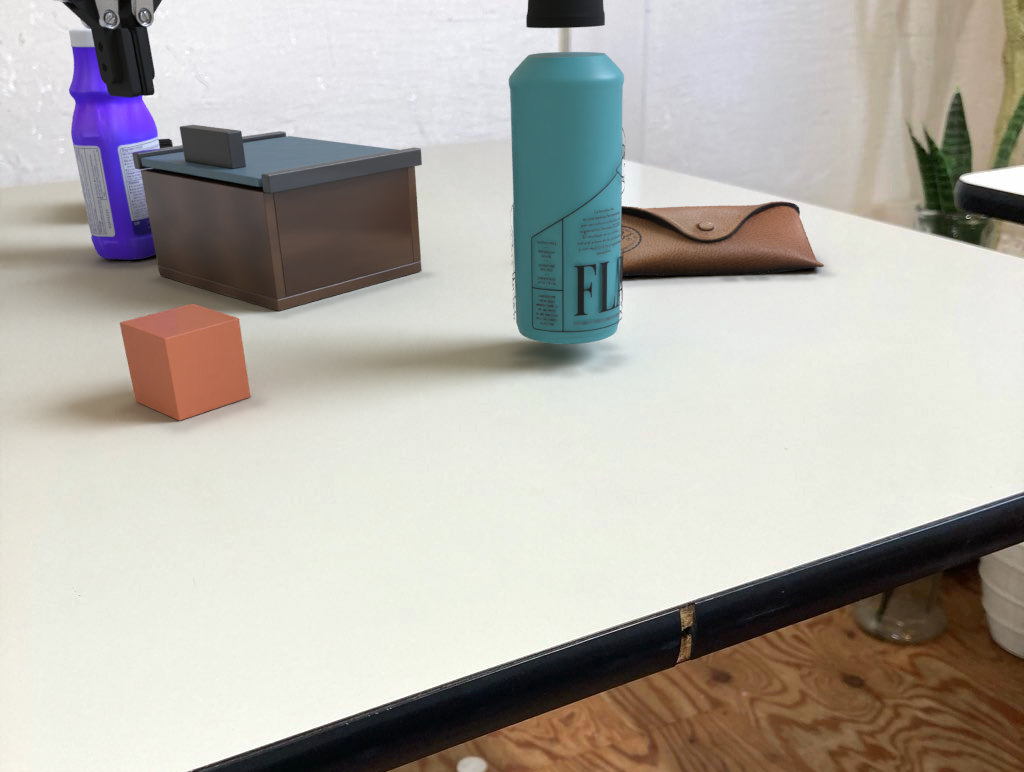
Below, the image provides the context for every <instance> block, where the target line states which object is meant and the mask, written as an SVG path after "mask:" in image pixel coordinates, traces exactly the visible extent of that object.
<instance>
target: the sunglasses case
mask: <svg viewBox="0 0 1024 772" xmlns="http://www.w3.org/2000/svg"><path fill="white" fill-rule="evenodd" d="M800 214H801V211H800V206H798V204H796V203H793V202H789V201H781V200H779V201H770V202H769V201H768V202H765V203H760V204H751V205H750V204H749V205H747V204H746V205H699V206H698V205H696V206H695V205H694V206H693V205H692V206H689V205H686V206H667V207H666V206H665V207H664V206H663V207H647V208H643V207H638V206H626V205H621V224H622V225H623V228H622V227H621V230H622V234H621V255H623V269H622V277H629V276H661V277H663V276H706V275H707V276H708V275H709V276H711V275H712V276H714V275H715V276H716V275H717V276H718V275H720V276H721V275H722V276H723V275H726V276H727V275H728V276H732V275H733V276H734V275H736V276H737V275H738V276H739V275H742V276H743V275H744V276H745V275H759V274H772V273H781V272H790V271H796V270H803V269H811V268H823V267H825V265H824V263H822V262H820V261H818V259H817V258H816V256H815V253H814V251H813V248H812V246H811V245H812V244H811V242H810V241H809V237H808V235H807V232H806V230H805V228H804V224H803V222H802V220H801V217H800ZM622 249H623V251H622ZM620 272H621V269H620Z"/></svg>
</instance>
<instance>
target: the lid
mask: <svg viewBox="0 0 1024 772" xmlns="http://www.w3.org/2000/svg"><path fill="white" fill-rule="evenodd" d="M179 132H180V138H181V144H182V145H183V151H184V152H178V153H171V154H165V155H158V156H151V157H144V158H141V161H142V166H145V167H150V168H156V169H161V170H167V171H172V172H178V173H184V174H189V175H195V176H200V177H206V178H211V179H217V180H222V181H228V182H234V183H239V184H245V185H250V186H256V187H262V186H263V184H262V176H261V174H264V173H270V172H276V171H281V170H287V169H293V168H299V167H304V166H310V165H316V164H322V163H328V162H333V161H339V160H345V159H351V158H356V157H362V156H368V155H374V154H379V153H385V152H391V151H397V150H398V148H397V149H396V148H388V147H379V146H372V145H363V144H357V143H349V142H342V141H341V142H340V141H332V140H323V139H317V138H309V137H308V138H307V137H301V136H292V135H286V137H279V138H273V139H266V140H259V141H252V142H246V143H243V140H242V137H243V133H242V131H241V130H239V129H231V128H223V127H214V126H207V125H198V124H188V125H180V126H179Z"/></svg>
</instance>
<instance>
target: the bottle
mask: <svg viewBox="0 0 1024 772" xmlns="http://www.w3.org/2000/svg"><path fill="white" fill-rule="evenodd" d="M68 33H69V39H70V47H71V51H72V56H73V57H72V58H73V73H72V80H71V82H70V86H69V88H68V92H69V93H68V94H69V95H70V97H72V99H73V100H74V109H73V112H72V113H73V114H72V119H71V128H70V130H71V131H70V134H71V140H72V145H73V151H74V155H75V159H76V166H77V170H78V175H79V176H78V177H79V180H80V187H81V192H82V196H83V202H84V206H85V212H86V215H87V220H88V227H89V232H90V235H91V236H90V239H91V243H92V244H93V248H94V249H95V252H96V254H97V255H98V256H99V257H101V258H102V259H105V260H121V261H136V260H137V261H138V260H143V259H147V258H151V257H153V256H156V253H155V247H154V242H153V236H152V231H151V225H150V220H149V214H148V209H147V203H146V198H145V192H144V187H143V181H142V176H141V170H139V169H135V166H134V161H133V155H132V153H133V152H139V151H145V150H152V149H159V148H160V146H159V140H158V139H159V132H158V128H157V127H158V126H157V124H156V122H155V118H154V117H153V115H152V113H151V112H150V110H149V109H148V107H147V105H146V103H145V102H144V100H143V96H141V95H139V96H138V97H131V98H130V97H119V96H111V95H110V94H109V93H108V90H107V86H106V84H105V83H104V82H103V81H102V79H101V76H100V72H99V66H98V61H97V56H96V51H95V46H94V41H93V36H92V31H91V29H89V28H86V27H84V28H74V29H73V28H72V29H69V30H68ZM148 169H151V168H148ZM142 170H144V169H142Z"/></svg>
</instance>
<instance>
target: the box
mask: <svg viewBox="0 0 1024 772" xmlns="http://www.w3.org/2000/svg"><path fill="white" fill-rule="evenodd" d="M286 136H287V133H286V131H281V130H279V131H278V130H277V131H272V132H265V133H258V134H249V135H244V136H243V135H242V140H243V143H246V142H252V141H259V140H266V139H273V138H279V137H286ZM178 152H184V151H183V145H173V147H166V148H159V149H152V150H145V151H139V152H133V153H132V155H133V161H134V166H135V169H139V170H141V176H142V181H143V187H144V192H145V198H146V203H147V209H148V214H149V220H150V225H151V231H152V236H153V242H154V247H155V253H156V255H155V259H156V264H157V269H158V275H159V277H163V278H166V279H170V280H173V281H177V282H180V283H183V284H185V285H190V286H193V287H197V288H199V289H204V290H207V291H210V292H214V293H217V294H220V295H223V296H226V297H231V298H234V299H237V300H240V301H244V302H247V303H251V304H253V305H257V306H261V307H264V308H267V309H271V310H274V311H278V312H280V311H285V310H288V309H290V308H294V307H298V306H302V305H305V304H308V303H312V302H315V301H316V302H317V301H319V300H324V299H326V298H331V297H333V296H338V295H340V294H345V293H348V292H352V291H355V290H358V289H362V288H366V287H369V286H373V285H376V284H381V283H384V282H388V281H391V280H394V279H399V278H402V277H405V276H410V275H413V274H416V273H420V272H422V269H423V268H422V254H421V241H420V225H419V208H418V194H417V193H418V191H417V178H416V176H417V175H416V167H420V166H422V165H423V159H422V149H421V148H420V147H409V148H403V149H397V151H391V152H385V153H379V154H374V155H368V156H362V157H356V158H351V159H345V160H339V161H333V162H328V163H322V164H316V165H310V166H304V167H299V168H293V169H287V170H281V171H276V172H270V173H264V174H261V176H262V184H263V186H262V187H256V186H250V185H245V184H239V183H234V182H228V181H222V180H217V179H211V178H206V177H200V176H195V175H189V174H184V173H178V172H172V171H167V170H161V169H156V168H151V169H148V168H150V167H145V166H142V161H141V158H144V157H151V156H158V155H165V154H171V153H178ZM142 169H144V170H142Z"/></svg>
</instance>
